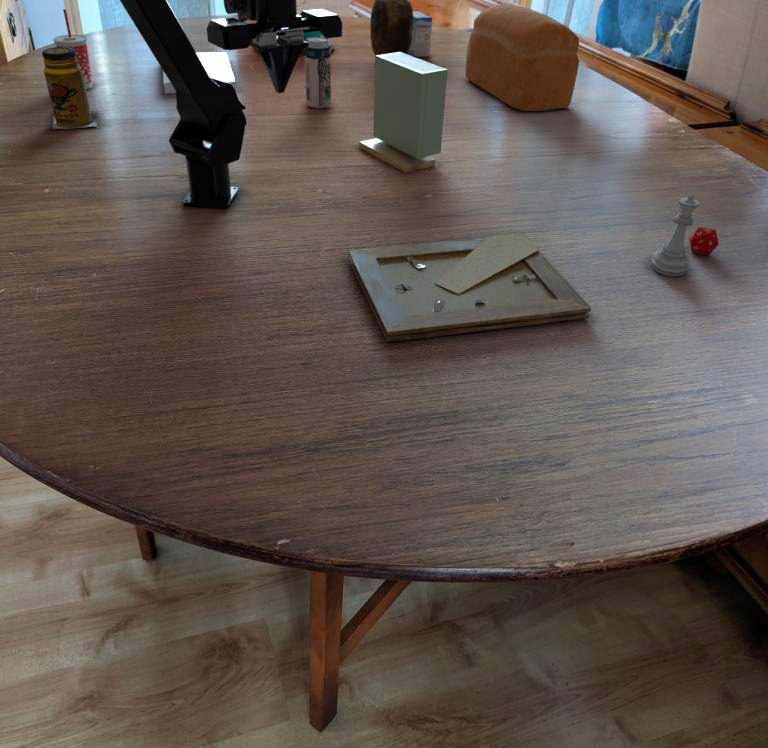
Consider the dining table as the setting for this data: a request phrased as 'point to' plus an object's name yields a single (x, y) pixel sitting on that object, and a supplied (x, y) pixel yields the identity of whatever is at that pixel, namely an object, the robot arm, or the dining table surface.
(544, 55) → the bread
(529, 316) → the picture frame
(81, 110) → the condiment
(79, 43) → the beverage cup
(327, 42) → the beer can
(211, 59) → the book
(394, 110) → the green rectangular box
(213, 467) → the dining table surface
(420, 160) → the shelf foot
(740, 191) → the dining table surface
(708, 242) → the die
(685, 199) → the chess piece
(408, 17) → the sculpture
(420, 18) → the medicine box
